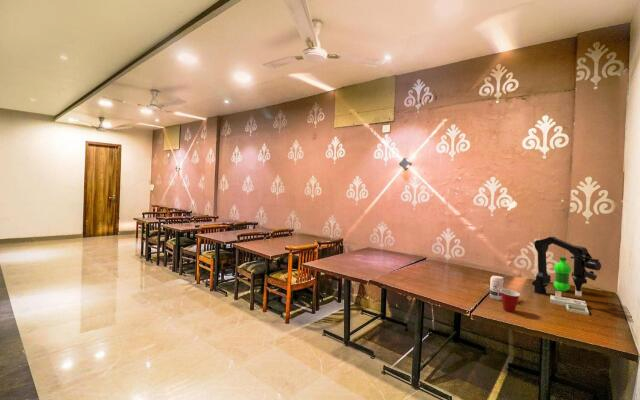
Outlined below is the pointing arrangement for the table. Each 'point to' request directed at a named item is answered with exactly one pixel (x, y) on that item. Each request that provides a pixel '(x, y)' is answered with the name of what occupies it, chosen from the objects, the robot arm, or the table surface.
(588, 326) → the table surface
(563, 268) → the plastic bottle
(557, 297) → the fuse
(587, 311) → the parts tray
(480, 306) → the table surface
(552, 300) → the fuse block
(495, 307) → the table surface
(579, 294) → the fuse
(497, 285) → the supplement can
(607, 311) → the table surface
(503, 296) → the plastic cup
